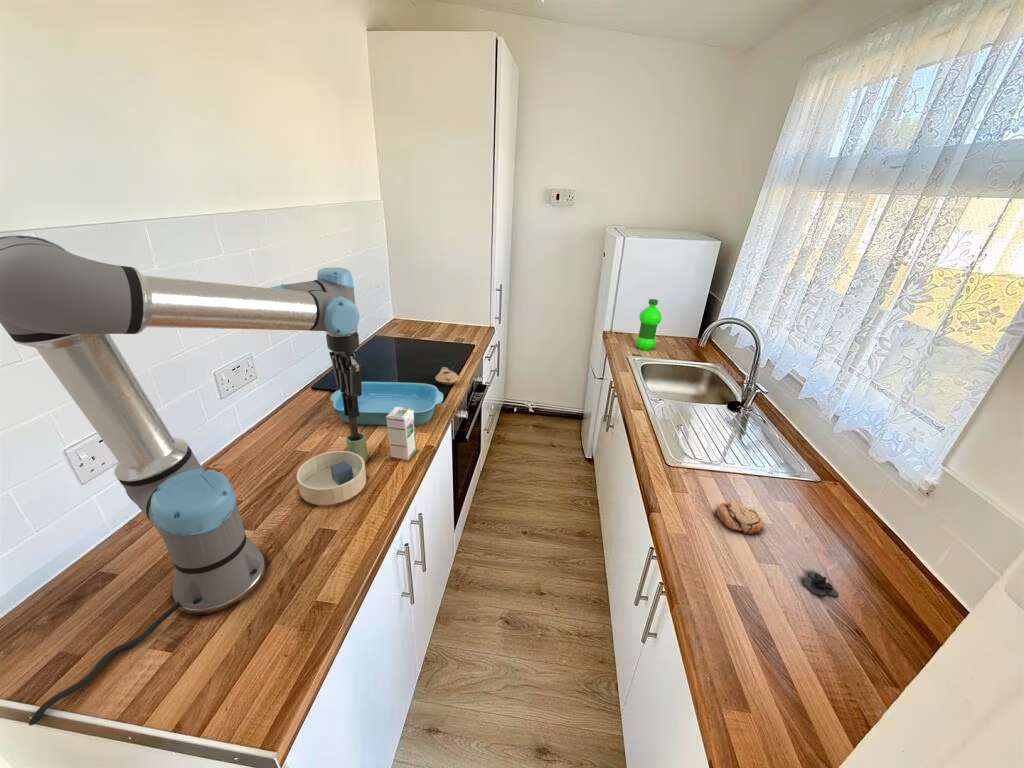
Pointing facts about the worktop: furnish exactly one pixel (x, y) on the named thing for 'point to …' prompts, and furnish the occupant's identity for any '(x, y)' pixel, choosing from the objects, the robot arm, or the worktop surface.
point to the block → (341, 473)
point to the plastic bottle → (648, 326)
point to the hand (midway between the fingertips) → (352, 415)
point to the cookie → (740, 517)
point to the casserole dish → (391, 401)
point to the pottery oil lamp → (446, 376)
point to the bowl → (330, 478)
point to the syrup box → (401, 432)
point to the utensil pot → (358, 445)
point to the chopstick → (353, 426)
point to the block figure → (819, 585)
